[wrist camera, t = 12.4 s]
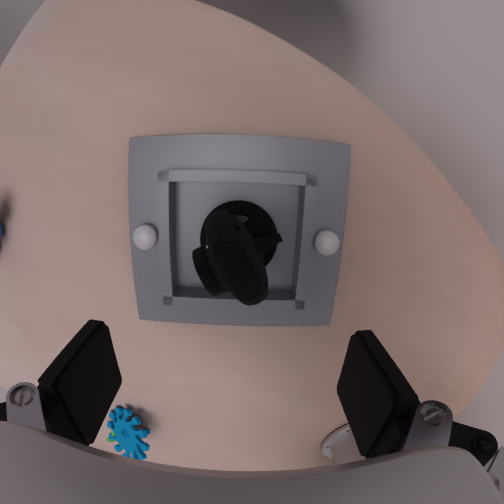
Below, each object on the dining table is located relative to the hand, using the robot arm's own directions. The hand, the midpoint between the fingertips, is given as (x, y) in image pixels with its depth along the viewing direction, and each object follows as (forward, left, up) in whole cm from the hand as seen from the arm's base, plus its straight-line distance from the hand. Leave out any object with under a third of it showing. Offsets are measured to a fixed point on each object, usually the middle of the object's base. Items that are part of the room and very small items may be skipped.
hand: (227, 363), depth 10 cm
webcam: (0, 0, -19) cm, 19 cm away
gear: (+18, +32, -20) cm, 41 cm away
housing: (0, 0, -20) cm, 20 cm away
